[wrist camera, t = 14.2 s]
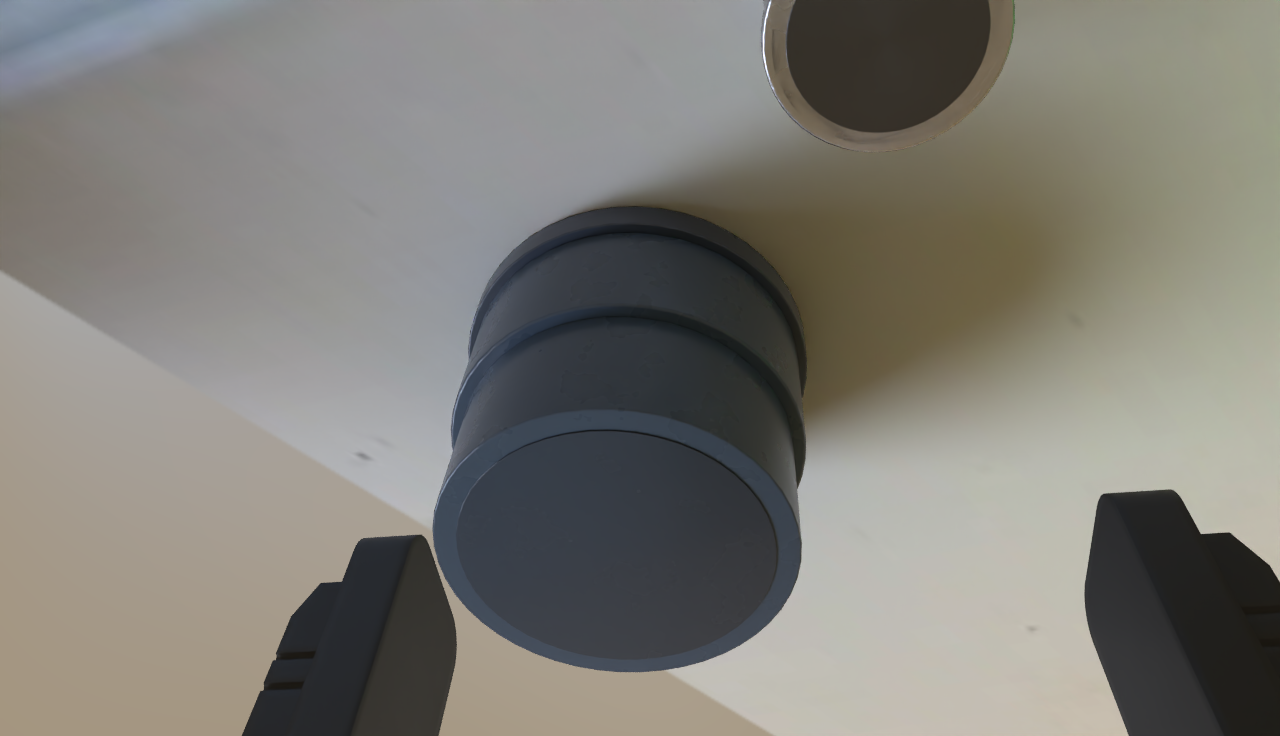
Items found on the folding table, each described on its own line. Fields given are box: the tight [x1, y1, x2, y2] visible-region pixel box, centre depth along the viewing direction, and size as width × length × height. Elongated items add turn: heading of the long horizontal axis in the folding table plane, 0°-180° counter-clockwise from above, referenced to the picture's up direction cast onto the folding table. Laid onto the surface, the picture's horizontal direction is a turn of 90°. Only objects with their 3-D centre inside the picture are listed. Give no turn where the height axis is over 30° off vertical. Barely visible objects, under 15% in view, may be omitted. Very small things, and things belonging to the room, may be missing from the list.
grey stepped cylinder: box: [433, 207, 807, 672], centre depth 34 cm, size 12×12×10 cm
